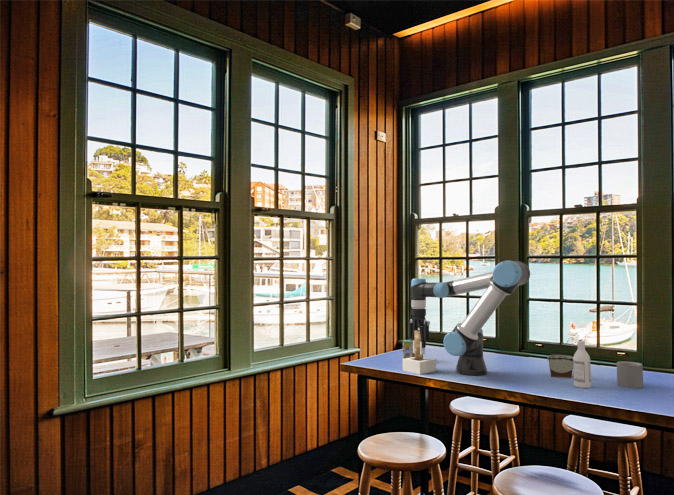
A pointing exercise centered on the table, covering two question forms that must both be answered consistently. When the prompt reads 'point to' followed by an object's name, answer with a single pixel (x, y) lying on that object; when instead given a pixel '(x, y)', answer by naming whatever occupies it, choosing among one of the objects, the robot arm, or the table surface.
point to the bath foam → (581, 367)
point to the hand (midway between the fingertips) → (418, 353)
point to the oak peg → (417, 345)
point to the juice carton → (408, 349)
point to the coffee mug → (630, 374)
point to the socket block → (419, 365)
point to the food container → (560, 366)
